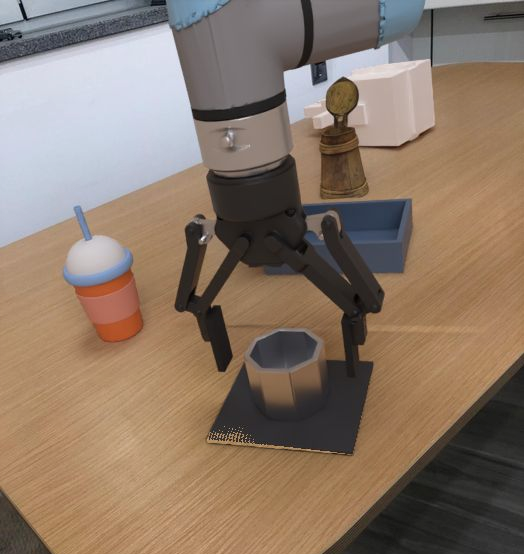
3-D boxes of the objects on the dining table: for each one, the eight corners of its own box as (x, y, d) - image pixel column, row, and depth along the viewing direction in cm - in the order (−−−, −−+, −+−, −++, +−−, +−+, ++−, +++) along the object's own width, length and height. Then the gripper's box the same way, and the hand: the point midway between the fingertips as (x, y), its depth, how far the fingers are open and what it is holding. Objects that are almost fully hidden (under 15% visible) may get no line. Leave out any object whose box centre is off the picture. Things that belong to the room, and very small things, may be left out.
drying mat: (373, 365, 67) (373, 361, 66) (353, 456, 56) (352, 451, 56) (247, 360, 72) (246, 356, 71) (206, 443, 61) (205, 439, 61)
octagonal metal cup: (334, 377, 65) (328, 328, 62) (320, 425, 59) (312, 373, 56) (268, 374, 68) (258, 327, 64) (248, 420, 62) (236, 370, 58)
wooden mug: (375, 172, 116) (368, 72, 105) (364, 200, 105) (356, 92, 95) (329, 175, 118) (319, 79, 108) (315, 203, 108) (302, 99, 98)
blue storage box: (412, 230, 92) (411, 198, 89) (403, 277, 81) (401, 242, 78) (290, 235, 99) (286, 204, 96) (266, 279, 88) (260, 246, 85)
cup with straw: (78, 350, 80) (26, 226, 70) (103, 314, 88) (59, 196, 77) (141, 347, 78) (97, 218, 68) (161, 310, 86) (124, 188, 75)
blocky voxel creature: (351, 123, 152) (451, 120, 133) (286, 156, 139) (386, 158, 120) (342, 61, 144) (447, 48, 125) (272, 90, 132) (377, 80, 112)
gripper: (97, 188, 50) (163, 384, 62) (399, 166, 42) (409, 396, 54) (136, 157, 56) (190, 342, 68) (409, 133, 48) (416, 348, 60)
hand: (287, 366), depth 61 cm, fingers open, 13 cm apart
